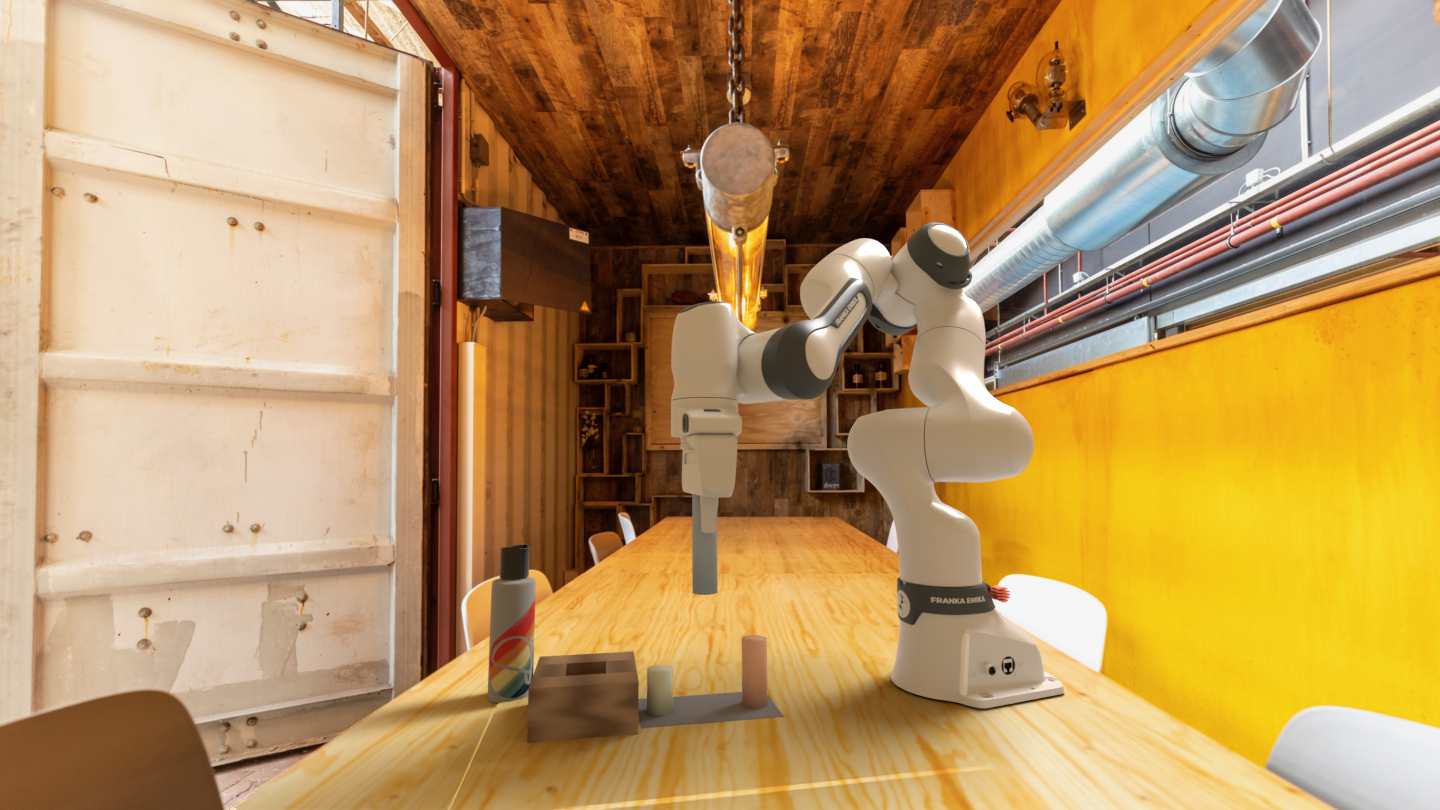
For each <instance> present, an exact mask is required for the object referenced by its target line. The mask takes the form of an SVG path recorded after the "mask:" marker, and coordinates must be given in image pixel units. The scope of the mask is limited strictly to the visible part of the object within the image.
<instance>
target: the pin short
mask: <svg viewBox="0 0 1440 810" xmlns="http://www.w3.org/2000/svg"><path fill="white" fill-rule="evenodd" d="M646 669H647V670H646V671H647V672H646V675H647V676H646V699H647V713H648V714H649V715H652V716H666V715H669V714H671V713H672V712H673V697H674V667H673V666H671V665H669V664H656V665H655V664H654V665H651V666H648V667H647V668H646Z"/></svg>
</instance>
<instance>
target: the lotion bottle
mask: <svg viewBox="0 0 1440 810" xmlns="http://www.w3.org/2000/svg"><path fill="white" fill-rule="evenodd" d="M530 548H531V547H530V545H528V543H518V544H513V545H510V546H505V547H501V548H500V549H499V550H500V551H499V552H500V553H499V578H497V579H494V580H493V581H492V582H491V590H490V591H491V592H490V593H491V596H490V616H489V617H490V621H489V625H490V626H489V643H488V644H489V647H488V649H489V651H488V677H487V698H488V700H489V701H490V702H492V703H495V704H499V703H500V702H512V701H513V702H514V701H518V700H522V699H524V698H527V697H528V692H529V686H530V683H531V680H532V678H533V675H534V662H535V655H534V654H535V653H534V652H535V627H536V626H535V625H536V623H535V622H536V594H537V593H536V589H537V588H536V587H537V585H536V578H534V577H531V576H529V575H530V574H529V573H530V551H531V549H530Z"/></svg>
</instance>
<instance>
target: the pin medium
mask: <svg viewBox="0 0 1440 810" xmlns="http://www.w3.org/2000/svg"><path fill="white" fill-rule="evenodd" d="M767 646H768V639H767V637H766V636H764V635H759V634H758V635H756V634H753V635H752V634H751V635H745V636H742V637H741V692H742V705H743V706H744V707H746V708H751V709H760V708H764V707H766V706H767V694H768V647H767Z"/></svg>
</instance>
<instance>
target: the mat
mask: <svg viewBox="0 0 1440 810" xmlns="http://www.w3.org/2000/svg"><path fill="white" fill-rule="evenodd" d="M638 714H639V719H640V725H641V729H648V728H662V727H672V726H685V725H686V726H687V725H696V724H697V725H698V724H699V725H700V724H709V723H724V722H734V721H735V722H736V721H748V720H761V719H774V718H775V719H776V718H784V717H785V715H784V713H782V711H781V710H780V709H779V708H778V706H777V704H776V703H775V702H774V701H773V699H772V698H771V697H770V695H769V693H767V706H766V707H764V708H760V709H751V708H746V707H744V706H743V705H742V691H735V692H724V693H723V692H722V693H719V692H718V693H709V694H708V693H706V694H694V695H679V696H673V712H672V713H671V714H669V715H666V716H652V715H649V714H648V713H647V698H638Z"/></svg>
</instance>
